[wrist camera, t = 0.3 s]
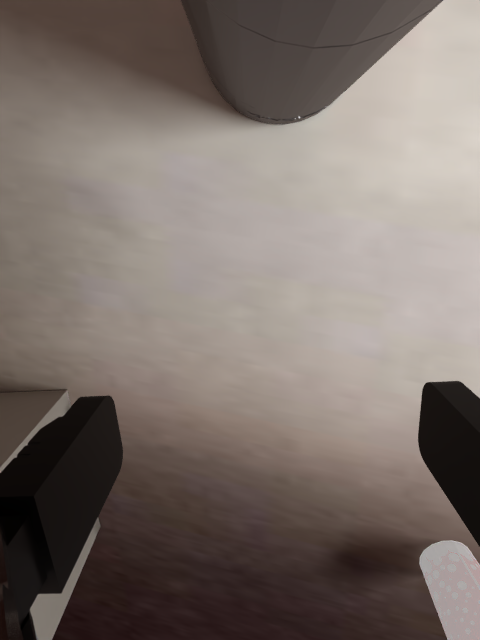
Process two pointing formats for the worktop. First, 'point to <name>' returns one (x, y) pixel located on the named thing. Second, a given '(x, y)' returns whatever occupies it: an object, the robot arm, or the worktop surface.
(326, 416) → the worktop surface
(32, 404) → the grey box with opening
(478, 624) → the beverage cup
